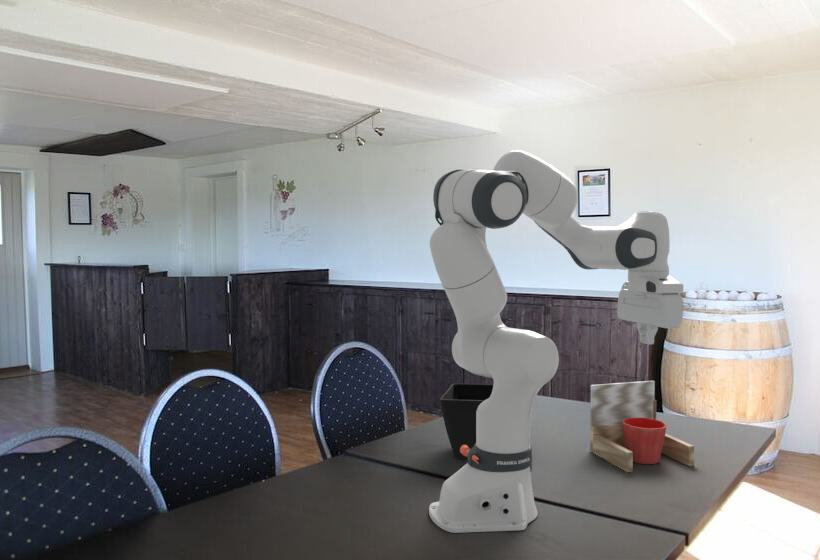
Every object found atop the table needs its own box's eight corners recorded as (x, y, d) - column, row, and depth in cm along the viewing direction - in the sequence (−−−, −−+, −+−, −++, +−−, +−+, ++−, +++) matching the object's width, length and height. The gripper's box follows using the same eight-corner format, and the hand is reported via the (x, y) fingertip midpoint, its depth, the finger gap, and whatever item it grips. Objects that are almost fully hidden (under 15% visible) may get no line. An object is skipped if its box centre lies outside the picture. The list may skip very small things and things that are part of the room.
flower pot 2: (661, 453, 181) (661, 417, 181) (669, 467, 171) (670, 429, 170) (619, 452, 183) (619, 416, 183) (625, 465, 172) (626, 427, 172)
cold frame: (627, 472, 167) (628, 399, 166) (590, 451, 184) (590, 385, 183) (694, 465, 172) (695, 394, 171) (652, 445, 189) (652, 380, 188)
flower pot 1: (439, 462, 176) (439, 397, 175) (452, 441, 194) (452, 382, 193) (514, 468, 171) (514, 401, 170) (520, 445, 189) (520, 385, 188)
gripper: (611, 280, 165) (610, 337, 166) (663, 286, 146) (661, 350, 147) (634, 280, 167) (633, 336, 168) (688, 285, 147) (687, 349, 148)
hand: (646, 343), depth 157 cm, fingers closed
